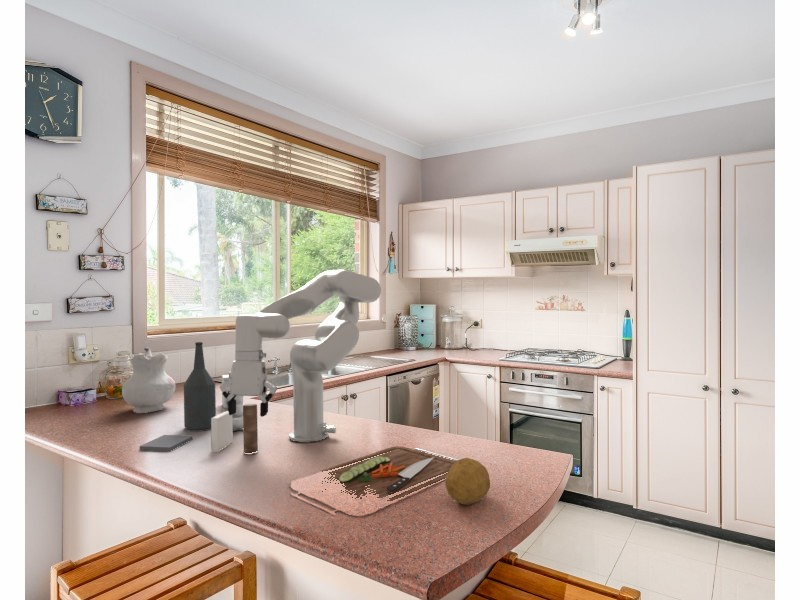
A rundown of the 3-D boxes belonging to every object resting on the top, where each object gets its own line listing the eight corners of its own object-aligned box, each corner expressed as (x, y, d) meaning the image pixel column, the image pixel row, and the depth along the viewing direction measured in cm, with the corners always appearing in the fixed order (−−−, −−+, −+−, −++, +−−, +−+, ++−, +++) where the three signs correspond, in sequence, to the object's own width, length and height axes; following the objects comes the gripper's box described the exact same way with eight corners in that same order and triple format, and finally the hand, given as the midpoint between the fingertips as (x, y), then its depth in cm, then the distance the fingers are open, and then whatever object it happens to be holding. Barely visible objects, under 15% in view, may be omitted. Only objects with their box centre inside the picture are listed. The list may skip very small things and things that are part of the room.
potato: (501, 455, 115) (464, 445, 120) (476, 477, 104) (436, 464, 109) (498, 495, 116) (462, 483, 121) (473, 520, 105) (434, 505, 110)
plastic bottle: (220, 431, 171) (219, 372, 170) (235, 426, 177) (234, 370, 176) (234, 433, 168) (233, 374, 167) (249, 428, 174) (248, 371, 173)
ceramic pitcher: (117, 411, 206) (110, 351, 204) (166, 400, 219) (161, 343, 217) (131, 421, 190) (125, 356, 188) (184, 408, 203) (178, 348, 201)
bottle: (199, 422, 183) (198, 340, 182) (221, 424, 179) (220, 340, 179) (178, 430, 173) (176, 343, 172) (201, 432, 170) (199, 343, 169)
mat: (192, 439, 161) (192, 435, 161) (170, 451, 150) (170, 447, 150) (164, 438, 163) (164, 434, 163) (139, 450, 151) (139, 446, 151)
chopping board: (403, 447, 153) (403, 437, 153) (476, 467, 135) (476, 456, 135) (276, 490, 121) (276, 478, 120) (350, 525, 102) (350, 510, 102)
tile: (232, 442, 158) (232, 411, 158) (218, 451, 149) (217, 418, 149) (225, 442, 158) (225, 410, 158) (210, 451, 149) (210, 418, 149)
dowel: (260, 450, 150) (259, 403, 149) (254, 455, 146) (253, 406, 145) (247, 450, 150) (246, 403, 150) (241, 454, 146) (240, 406, 146)
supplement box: (221, 404, 211) (221, 374, 211) (240, 403, 214) (239, 373, 214) (223, 408, 205) (223, 377, 204) (242, 406, 208) (242, 376, 207)
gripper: (281, 355, 150) (281, 413, 150) (227, 354, 152) (226, 410, 152) (271, 358, 142) (270, 419, 142) (214, 357, 145) (213, 416, 145)
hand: (247, 414), depth 147 cm, fingers open, 9 cm apart
